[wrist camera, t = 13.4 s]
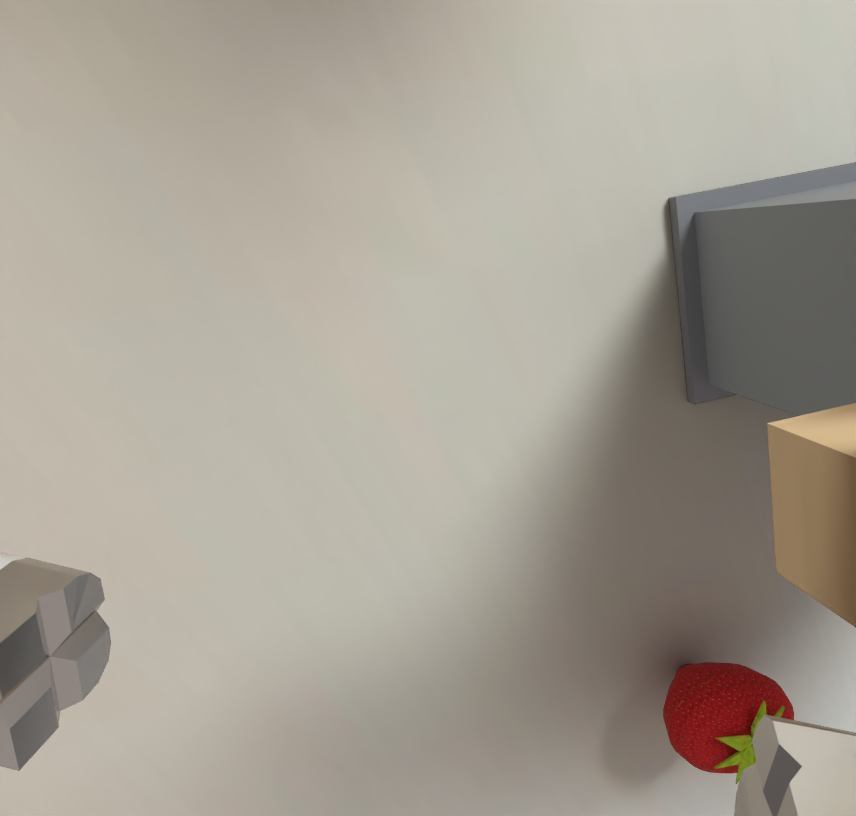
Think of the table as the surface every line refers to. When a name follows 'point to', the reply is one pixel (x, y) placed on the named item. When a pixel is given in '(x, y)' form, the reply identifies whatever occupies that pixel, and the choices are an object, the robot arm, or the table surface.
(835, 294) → the grey slab on plinth
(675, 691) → the strawberry
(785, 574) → the rail
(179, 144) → the table surface
